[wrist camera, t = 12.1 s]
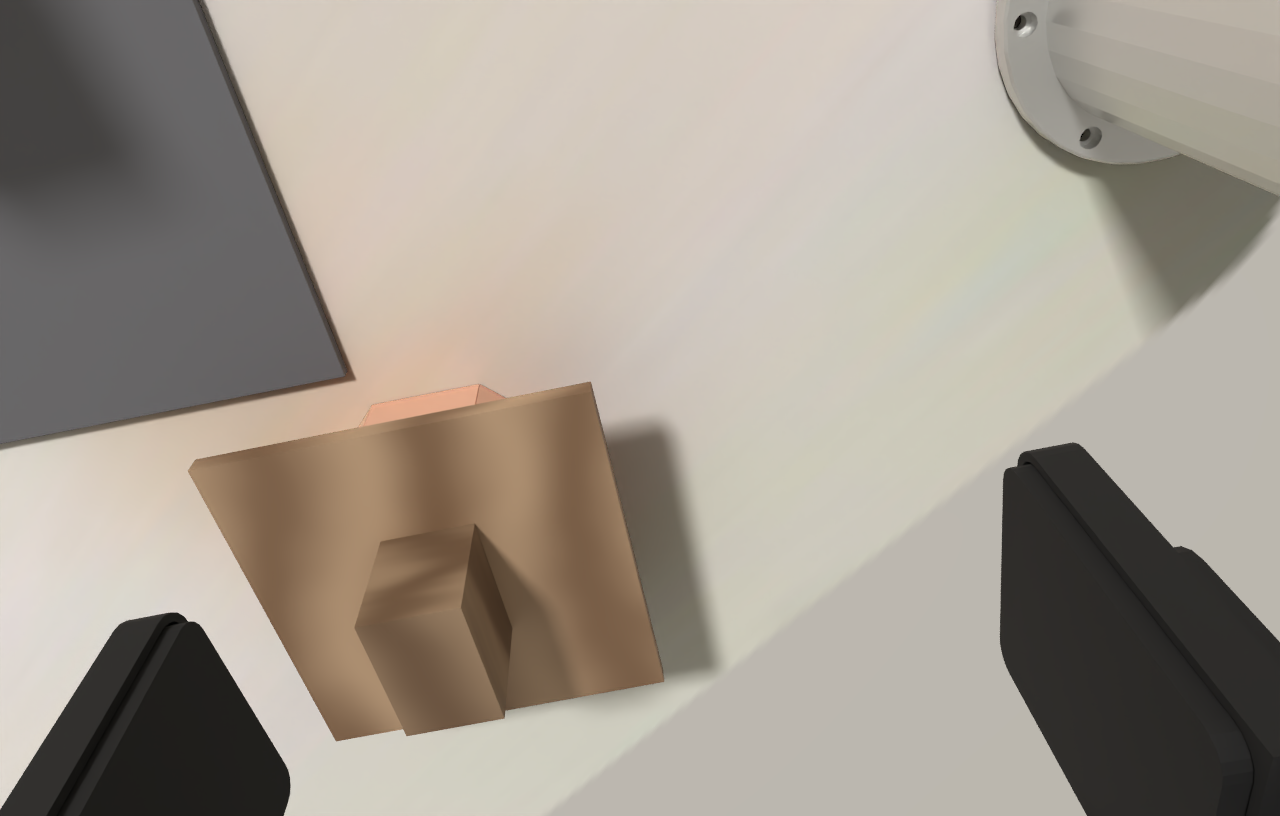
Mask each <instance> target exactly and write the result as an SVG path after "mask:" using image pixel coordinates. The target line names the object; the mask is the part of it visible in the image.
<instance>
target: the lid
mask: <svg viewBox="0 0 1280 816" xmlns="http://www.w3.org/2000/svg"><path fill="white" fill-rule="evenodd" d="M188 472H189V474H190V476H191V478H192V479H193V481H194V483H195V485H196V487H197V489H198V490H199V492H200V494H201V496H202V498H203V500H204V501H205V503H206V505H207V507H208V509H209V510H210V512H211V514H212V516H213V518H214V520H215V521H216V523H217V525H218V527H219V529H220V531H221V532H222V534H223V536H224V538H225V540H226V541H227V543H228V545H229V547H230V549H231V551H232V552H233V554H234V556H235V558H236V560H237V562H238V563H239V565H240V567H241V569H242V571H243V572H244V574H245V576H246V578H247V580H248V582H249V583H250V585H251V587H252V589H253V591H254V593H255V594H256V596H257V598H258V600H259V602H260V603H261V605H262V607H263V609H264V611H265V613H266V614H267V616H268V618H269V620H270V622H271V624H272V625H273V627H274V629H275V631H276V633H277V634H278V636H279V638H280V640H281V642H282V644H283V645H284V647H285V649H286V651H287V653H288V655H289V656H290V658H291V660H292V662H293V664H294V665H295V667H296V669H297V671H298V673H299V675H300V676H301V678H302V680H303V682H304V684H305V686H306V687H307V689H308V691H309V693H310V695H311V696H312V698H313V700H314V702H315V704H316V706H317V707H318V709H319V711H320V713H321V715H322V717H323V718H324V720H325V722H326V724H327V726H328V727H329V729H330V731H331V733H332V735H333V737H334V738H335V740H336V741H340V740H346V739H351V738H357V737H362V736H368V735H373V734H379V733H384V732H390V731H395V730H401V729H404V732H405V734H406V736H410V735H416V734H421V733H427V732H432V731H438V730H443V729H449V728H454V727H460V726H465V725H471V724H476V723H482V722H487V721H493V720H498V719H504V717H505V710H511V709H516V708H522V707H527V706H533V705H538V704H544V703H549V702H555V701H560V700H566V699H571V698H577V697H582V696H588V695H593V694H599V693H604V692H610V691H615V690H621V689H626V688H632V687H637V686H643V685H648V684H654V683H659V682H664V675H663V667H662V663H661V659H660V655H659V651H658V648H657V644H656V640H655V636H654V632H653V628H652V624H651V620H650V616H649V612H648V608H647V604H646V600H645V596H644V592H643V588H642V584H641V580H640V576H639V572H638V568H637V564H636V560H635V556H634V552H633V548H632V544H631V540H630V536H629V532H628V528H627V524H626V520H625V516H624V512H623V508H622V504H621V500H620V496H619V492H618V488H617V484H616V480H615V476H614V472H613V468H612V464H611V460H610V456H609V452H608V448H607V444H606V440H605V436H604V432H603V428H602V424H601V420H600V416H599V412H598V408H597V404H596V400H595V396H594V392H593V388H592V384H591V382H587V383H582V384H576V385H571V386H566V387H561V388H556V389H551V390H546V391H541V392H536V393H531V394H526V395H521V396H516V397H511V398H506V399H501V400H495V401H490V402H485V403H480V404H475V405H470V406H465V407H460V408H455V409H450V410H445V411H440V412H435V413H430V414H425V415H420V416H414V417H409V418H404V419H399V420H394V421H389V422H384V423H379V424H374V425H369V426H364V427H359V428H354V429H349V430H344V431H339V432H333V433H328V434H323V435H318V436H313V437H308V438H303V439H298V440H293V441H288V442H283V443H278V444H273V445H268V446H263V447H258V448H252V449H247V450H242V451H237V452H232V453H227V454H222V455H217V456H212V457H207V458H202V459H197V460H195V461H194V463H193V464H192V466H191V467H190V469H189V470H188Z"/></svg>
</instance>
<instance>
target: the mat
mask: <svg viewBox="0 0 1280 816" xmlns="http://www.w3.org/2000/svg"><path fill="white" fill-rule="evenodd" d="M346 373H347V369H346V366H345V364H344V361H343V359H342V356H341V354H340V351H339V349H338V346H337V344H336V341H335V339H334V336H333V334H332V331H331V329H330V326H329V324H328V321H327V319H326V316H325V314H324V312H323V309H322V307H321V304H320V302H319V299H318V297H317V294H316V292H315V289H314V287H313V284H312V282H311V279H310V277H309V274H308V272H307V269H306V267H305V264H304V262H303V259H302V257H301V254H300V252H299V249H298V247H297V244H296V242H295V240H294V237H293V235H292V232H291V230H290V227H289V225H288V222H287V220H286V217H285V215H284V212H283V210H282V207H281V205H280V202H279V200H278V197H277V195H276V192H275V190H274V187H273V185H272V182H271V180H270V177H269V175H268V172H267V170H266V168H265V165H264V163H263V160H262V158H261V155H260V153H259V150H258V148H257V145H256V143H255V140H254V138H253V135H252V133H251V130H250V128H249V125H248V123H247V120H246V118H245V115H244V113H243V110H242V108H241V105H240V103H239V100H238V98H237V96H236V93H235V91H234V88H233V86H232V83H231V81H230V78H229V76H228V73H227V71H226V68H225V66H224V63H223V61H222V58H221V56H220V53H219V51H218V48H217V46H216V43H215V41H214V38H213V36H212V33H211V31H210V28H209V26H208V24H207V21H206V19H205V16H204V14H203V11H202V9H201V6H200V4H199V1H198V0H0V444H2V443H7V442H12V441H17V440H22V439H27V438H32V437H38V436H43V435H48V434H53V433H58V432H63V431H68V430H73V429H78V428H84V427H89V426H94V425H99V424H104V423H109V422H114V421H119V420H124V419H129V418H135V417H140V416H145V415H150V414H155V413H160V412H165V411H170V410H175V409H180V408H186V407H191V406H196V405H201V404H206V403H211V402H216V401H221V400H226V399H231V398H237V397H242V396H247V395H252V394H257V393H262V392H267V391H272V390H277V389H283V388H288V387H293V386H298V385H303V384H308V383H313V382H318V381H323V380H328V379H334V378H339V377H344V376H345V375H346Z"/></svg>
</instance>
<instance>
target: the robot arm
mask: <svg viewBox="0 0 1280 816" xmlns="http://www.w3.org/2000/svg"><path fill="white" fill-rule="evenodd" d="M1019 15H1020V16H1021V24H1020V25H1019V26H1018V27H1017V28H1015V29H1014V24H1015V20H1016V19H1017V18H1018V17H1019ZM994 35H995V43H996V51H997V59H998V66H999V69H1000V72H1001V75H1002V78H1003V81H1004V84H1005V87H1006V90H1007V93H1008V95H1009V97H1010V98H1011V100H1012V101H1013V103H1014V105H1015V106H1016V108H1017V110H1018V111H1019V113H1020V115H1021V116H1022V118H1023V119H1024V120H1025V121H1026V122H1027V123H1028V124H1029V125H1030V126H1031V127H1032V128H1033V129H1034V130H1035V131H1036V132H1037V133H1038V134H1039V135H1040V136H1042V137H1044V138H1045V139H1047V140H1049V141H1050V142H1052V143H1053V144H1055V145H1057V146H1058V147H1060V148H1062V149H1064V150H1066V151H1068V152H1070V153H1072V154H1074V155H1076V156H1078V157H1081V158H1084V159H1088V160H1093V161H1098V162H1103V163H1108V164H1143V163H1148V162H1153V161H1158V160H1163V159H1168V158H1171V157H1174V156H1177V155H1179V154H1183V155H1185V156H1188V157H1190V158H1192V159H1195V160H1197V161H1199V162H1201V163H1204V164H1206V165H1208V166H1211V167H1213V168H1215V169H1217V170H1220V171H1222V172H1224V173H1227V174H1229V175H1231V176H1234V177H1236V178H1238V179H1240V180H1243V181H1245V182H1247V183H1250V184H1252V185H1254V186H1256V187H1259V188H1261V189H1263V190H1266V191H1268V192H1270V193H1272V194H1275V195H1277V196H1279V197H1280V0H996V17H995V33H994ZM1084 131H1085V134H1084V135H1083V136H1082V137H1081V134H1082V133H1083V132H1084ZM1080 137H1081V138H1080ZM1001 567H1002V568H1001V614H1000V645H1001V650H1002V655H1003V658H1004V661H1005V664H1006V667H1007V669H1008V671H1009V673H1010V675H1011V677H1012V679H1013V681H1014V683H1015V684H1016V686H1017V688H1018V690H1019V692H1020V694H1021V695H1022V697H1023V699H1024V701H1025V703H1026V705H1027V706H1028V708H1029V710H1030V712H1031V714H1032V715H1033V717H1034V719H1035V721H1036V723H1037V725H1038V727H1039V728H1040V730H1041V732H1042V734H1043V736H1044V737H1045V739H1046V741H1047V743H1048V745H1049V747H1050V748H1051V750H1052V752H1053V754H1054V756H1055V758H1056V760H1057V761H1058V763H1059V765H1060V767H1061V769H1062V770H1063V772H1064V774H1065V776H1066V778H1067V779H1068V782H1069V783H1070V785H1071V787H1072V789H1073V791H1074V793H1075V794H1076V796H1077V798H1078V800H1079V802H1080V803H1081V805H1082V807H1083V809H1084V811H1085V813H1086V815H1087V816H1280V642H1279V641H1278V640H1277V639H1276V638H1275V637H1274V636H1273V634H1272V633H1271V632H1270V631H1269V630H1268V629H1267V628H1266V627H1265V626H1264V625H1263V624H1262V622H1261V621H1260V620H1259V619H1258V618H1257V617H1256V616H1255V615H1254V614H1253V613H1252V612H1251V611H1250V610H1249V608H1248V607H1247V606H1246V605H1245V604H1244V603H1243V602H1242V601H1241V600H1240V599H1239V598H1238V597H1237V596H1236V594H1235V593H1234V592H1233V591H1232V590H1231V589H1230V588H1229V587H1228V586H1227V585H1226V584H1225V583H1224V582H1223V580H1222V579H1221V578H1220V577H1219V576H1218V575H1217V574H1216V573H1215V572H1214V571H1213V570H1212V569H1211V568H1210V566H1209V565H1208V564H1207V563H1206V562H1205V561H1204V560H1203V559H1202V558H1200V557H1199V556H1198V555H1197V554H1196V553H1194V552H1193V551H1192V550H1189V549H1187V548H1184V547H1182V546H1180V547H1174V548H1173V547H1172V546H1171V544H1170V543H1169V542H1168V541H1167V540H1166V539H1165V538H1164V537H1163V536H1162V534H1161V533H1160V532H1159V531H1158V530H1157V529H1156V528H1155V527H1154V526H1153V525H1152V523H1151V522H1150V521H1149V520H1148V519H1147V518H1146V517H1145V516H1144V514H1143V513H1142V512H1141V511H1140V510H1139V509H1138V508H1137V507H1136V506H1135V505H1134V503H1133V502H1132V501H1131V500H1130V499H1129V498H1128V497H1127V496H1126V495H1125V493H1124V492H1123V491H1122V490H1121V489H1120V488H1119V487H1118V486H1117V485H1116V483H1115V482H1114V481H1113V480H1112V479H1111V478H1110V477H1109V476H1108V475H1107V473H1106V472H1105V471H1104V470H1103V469H1102V468H1101V467H1100V466H1099V465H1098V463H1096V461H1095V460H1094V459H1093V458H1092V457H1091V456H1090V455H1089V453H1088V452H1087V451H1086V450H1085V449H1084V448H1083V447H1081V446H1080V445H1079V444H1077V443H1068V444H1063V445H1058V446H1052V447H1047V448H1042V449H1036V450H1031V451H1026V452H1023V453H1022V454H1021V455H1020V457H1019V459H1018V465H1017V467H1012V468H1008V469H1006V470H1005V472H1004V478H1003V515H1002V564H1001ZM289 796H290V776H289V772H288V769H287V767H286V765H285V763H284V762H283V760H282V758H281V757H280V755H279V753H278V752H277V750H276V748H275V747H274V745H273V743H272V742H271V740H270V739H269V737H268V735H267V734H266V732H265V730H264V729H263V727H262V725H261V724H260V722H259V720H258V719H257V717H256V715H255V714H254V712H253V710H252V709H251V707H250V706H249V704H248V702H247V701H246V699H245V697H244V696H243V694H242V692H241V691H240V689H239V687H238V686H237V684H236V682H235V681H234V679H233V678H232V676H231V674H230V673H229V671H228V669H227V668H226V666H225V664H224V663H223V661H222V659H221V658H220V656H219V654H218V653H217V651H216V650H215V648H214V646H213V645H212V643H211V641H210V640H209V638H208V636H207V635H206V633H205V631H204V630H203V629H202V627H201V626H200V625H199V624H197V623H196V622H188V621H187V620H186V618H185V617H184V616H182V615H180V614H179V613H165V614H160V615H155V616H150V617H144V618H139V619H134V620H128V621H125V622H123V623H121V624H120V625H119V626H118V627H117V628H116V629H115V630H114V631H113V633H112V635H111V636H110V638H109V639H108V641H107V642H106V644H105V646H104V647H103V649H102V650H101V652H100V653H99V655H98V657H97V658H96V660H95V661H94V663H93V664H92V666H91V668H90V669H89V671H88V672H87V674H86V675H85V677H84V679H83V680H82V682H81V683H80V685H79V687H78V688H77V690H76V691H75V693H74V694H73V696H72V698H71V699H70V701H69V702H68V704H67V705H66V707H65V709H64V710H63V712H62V713H61V715H60V716H59V718H58V720H57V721H56V723H55V724H54V726H53V727H52V729H51V731H50V732H49V734H48V735H47V737H46V739H45V740H44V742H43V743H42V745H41V746H40V748H39V750H38V751H37V753H36V754H35V756H34V757H33V759H32V761H31V762H30V764H29V765H28V767H27V768H26V770H25V772H24V773H23V775H22V776H21V778H20V779H19V781H18V783H17V784H16V786H15V787H14V789H13V790H12V792H11V794H10V795H9V797H8V798H7V800H6V802H5V803H4V805H3V806H2V808H1V809H0V816H284V813H285V810H286V807H287V804H288V800H289Z"/></svg>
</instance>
